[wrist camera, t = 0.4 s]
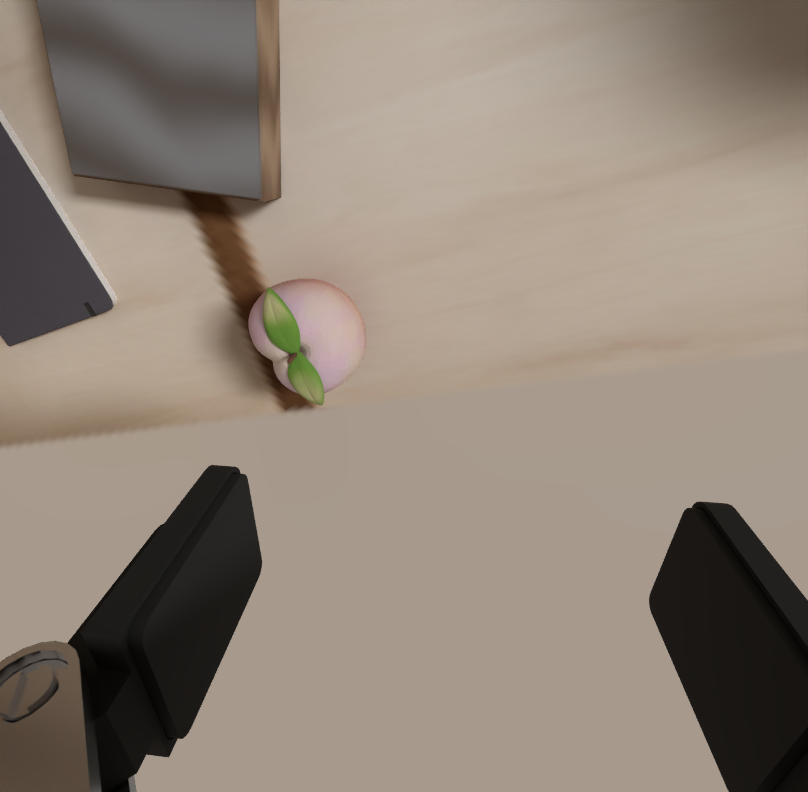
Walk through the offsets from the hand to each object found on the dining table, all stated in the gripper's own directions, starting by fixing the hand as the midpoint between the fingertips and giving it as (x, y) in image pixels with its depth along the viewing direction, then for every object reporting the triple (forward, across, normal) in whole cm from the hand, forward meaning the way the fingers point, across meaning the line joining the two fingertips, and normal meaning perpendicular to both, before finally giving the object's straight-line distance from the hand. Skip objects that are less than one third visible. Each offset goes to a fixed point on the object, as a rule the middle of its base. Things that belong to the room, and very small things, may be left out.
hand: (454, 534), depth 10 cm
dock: (+31, +20, -12) cm, 38 cm away
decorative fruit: (+31, +10, +6) cm, 33 cm away
